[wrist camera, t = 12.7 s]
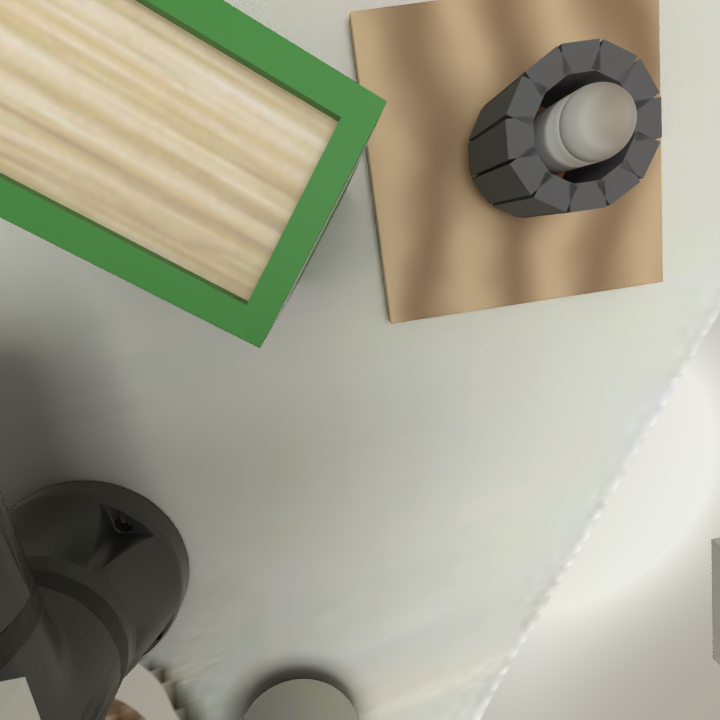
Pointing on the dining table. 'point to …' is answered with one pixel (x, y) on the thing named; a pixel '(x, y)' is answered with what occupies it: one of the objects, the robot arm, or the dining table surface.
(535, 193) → the rubber collar
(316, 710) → the teacup
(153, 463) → the dining table surface
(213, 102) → the hardback book
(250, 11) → the dining table surface
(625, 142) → the post stand
